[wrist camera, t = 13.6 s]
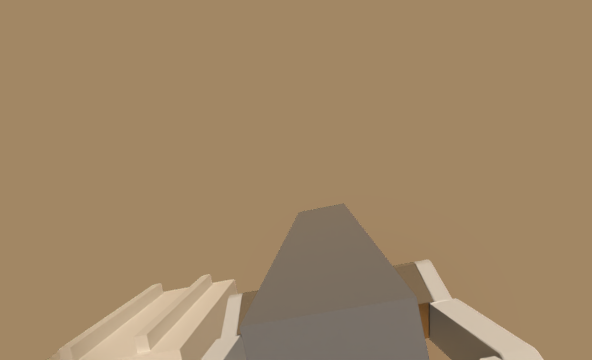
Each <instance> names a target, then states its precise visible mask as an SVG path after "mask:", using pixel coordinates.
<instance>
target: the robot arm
mask: <svg viewBox="0 0 592 360" xmlns="http://www.w3.org/2000/svg"><path fill="white" fill-rule="evenodd" d="M393 267H394V269H395V270H396V271H397V273H398V274H399V275H400V276H401V278H402V279H403V280H404V282H405V283H406V284H407V285H408V287H409V288H410V289H411V291H412V292H413V293H414V294H415V296H416V297H417V302H418V307H419V312H420V317H421V322H422V327H423V331H424V336H425V339H426V338H430V340H431V341H432V342H433V343H434V344H435V345H436V346H438V347H439V349H441V350H442V351H443V352H444V353H445V354H446V355H447V356H448V357H449V358H450V359H451V360H543V358H542V357H541V355H540V354H539V353H538V351H537V350H536V349H535V348H534V347H532V346H530V345H529V344H527V343H526V342H524V341H523V340H521V339H519V338H518V337H516V336H515V335H513V334H512V333H510V332H508V331H507V330H505V329H504V328H502V327H501V326H499V325H497V324H496V323H495V322H493V321H491V320H490V319H488V318H487V317H485V316H484V315H482V314H480V313H479V312H477V311H476V310H474V309H472V308H471V307H469V306H468V305H466V304H465V303H463V302H462V301H460V300H458V299H452V298H451V296H450V294H449V292H448V291H447V289H446V287H445V285H444V284H443V282H442V280H441V279H440V277H439V275H438V273H437V271H436V270H435V268H434V266H433V264H432V263H431V261H430V260H423V261H417V262H410V263H405V264H401V265H396V266H393ZM257 292H258V291H252V292H246V293H240V294H234V295H230V296H229V298H228V301H227V306H226V311H225V317H224V322H223V327H222V333H221V338H220V339H216V340H215V342H214V343H213V344H212V346H211V347H210V348H209V349H208V351H207V352H206V353H205V355H204V356H203V357H202V359H201V360H246V355H245V351H244V346H243V341H242V336H241V332H240V325H241V323H242V321H243V319H244V317H245V315H246V313H247V312H248V310H249V308H250V306H251V304H252V302H253V300H254V298H255V296H256V294H257Z"/></svg>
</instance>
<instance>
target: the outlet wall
mask: <svg viewBox="0 0 592 360" xmlns="http://www.w3.org/2000/svg"><path fill="white" fill-rule="evenodd" d="M234 294H238V292H237V287H236V283H235V279H232V280H226V281H221V282H215V283H212V279H211V275H210V274H209V275H203V276H201V277H200V278H199V279H198V280H197V281H196V282H194V283H193V284H192V285H191V286H190V287H188V288H183V289H176V290H171V291H165V292H163V289H162V284H161V283H159V284H154V285H152V286H151V287H149V288H148V289H146V290H145V291H143V292H142V293H141V294H139V295H137V296H136V297H135V298H133V299H132V300H130V301H129V302H127V303H126V304H124V305H123V306H121V307H120V308H118V309H117V310H115V311H114V312H112V313H111V314H109V315H108V316H107V317H105V318H104V319H102V320H101V321H99V322H98V323H96V324H95V325H93V326H92V327H91V328H89V329H87V330H86V331H85V332H83V333H82V334H80V335H79V336H77V337H76V338H74V339H73V340H71V341H70V342H69V343H67V344H66V345H64V346H63V347H61V348H60V349H58V352H57V353H55V354H54V355H53V356H51V357H50V358H48V359H47V360H201V359H202V357H203V356H204V355H205V353H206V352H207V351H208V349H209V348H210V347H211V346H212V344H213V343H214V342H215V340H216V339H220V338H221V333H222V327H223V322H224V317H225V311H226V306H227V301H228V298H229V296H230V295H234Z"/></svg>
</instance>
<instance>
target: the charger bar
mask: <svg viewBox="0 0 592 360" xmlns="http://www.w3.org/2000/svg"><path fill="white" fill-rule="evenodd" d="M240 332H241V336H242V341H243V346H244V351H245V355H246V360H429V356H428V351H427V346H426V341H425V336H424V331H423V327H422V322H421V317H420V312H419V307H418V302H417V297H416V296H415V294H414V293H413V292H412V291H411V289H410V288H409V287H408V285H407V284H406V283H405V282H404V280H403V279H402V278H401V276H400V275H399V274H398V273H397V271H396V270H395V269H394V267H393V266H392V265H391V264H390V262H389V261H388V260H387V258H386V257H385V256H384V255H383V253H382V252H381V251H380V249H379V248H378V247H377V246H376V244H375V243H374V242H373V240H372V239H371V238H370V237H369V235H368V234H367V233H366V231H365V230H364V229H363V228H362V226H361V225H360V224H359V222H358V221H357V220H356V218H355V217H354V216H353V215H352V213H351V212H350V211H349V209H348V208H347V207H346V206H345V204H339V205H334V206H329V207H324V208H318V209H314V210H308V211H303V212H300V213H298V215H297V217H296V219H295V221H294V223H293V225H292V227H291V229H290V231H289V233H288V235H287V236H286V239H285V240H284V242H283V244H282V246H281V248H280V250H279V252H278V254H277V256H276V258H275V260H274V262H273V264H272V265H271V267H270V269H269V271H268V273H267V275H266V277H265V279H264V281H263V283H262V285H261V287H260V289H259V290H258V292H257V294H256V296H255V298H254V300H253V302H252V304H251V306H250V308H249V310H248V312H247V313H246V315H245V317H244V319H243V321H242V323H241V325H240Z"/></svg>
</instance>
